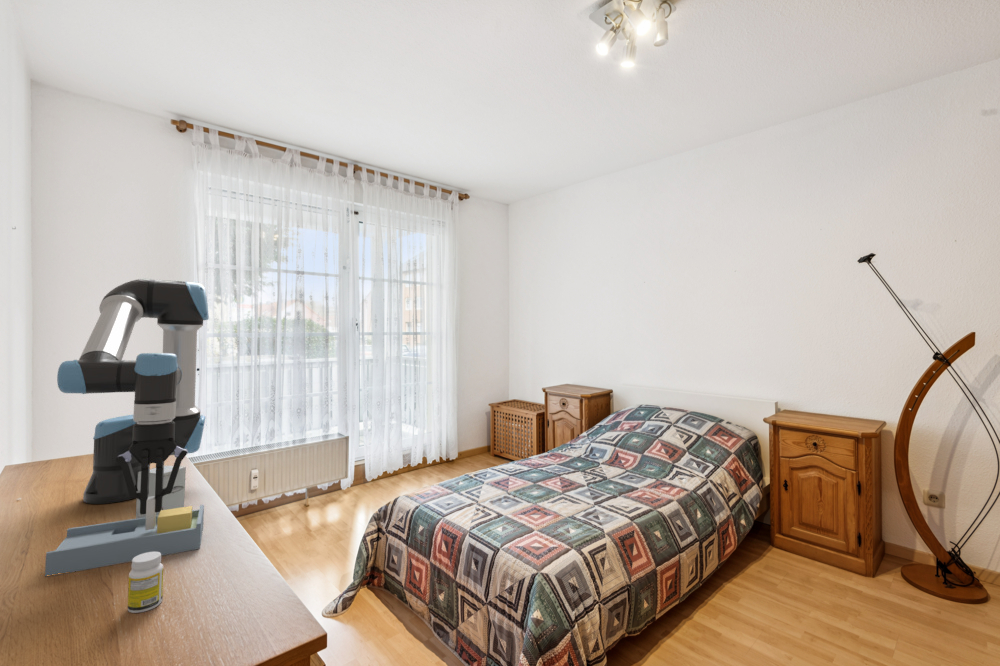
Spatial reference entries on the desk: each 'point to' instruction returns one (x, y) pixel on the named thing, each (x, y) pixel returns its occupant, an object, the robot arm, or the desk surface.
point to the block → (174, 519)
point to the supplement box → (168, 500)
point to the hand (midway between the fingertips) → (150, 527)
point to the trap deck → (119, 543)
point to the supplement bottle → (145, 582)
